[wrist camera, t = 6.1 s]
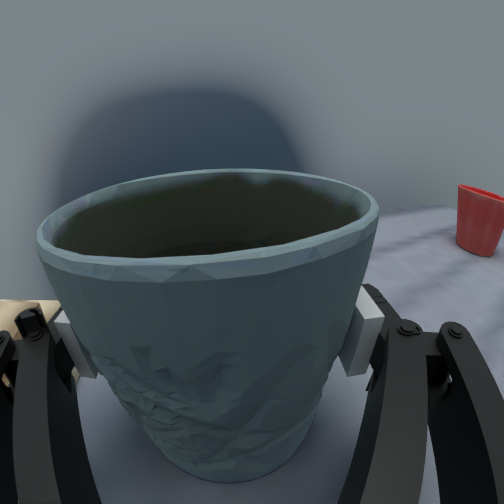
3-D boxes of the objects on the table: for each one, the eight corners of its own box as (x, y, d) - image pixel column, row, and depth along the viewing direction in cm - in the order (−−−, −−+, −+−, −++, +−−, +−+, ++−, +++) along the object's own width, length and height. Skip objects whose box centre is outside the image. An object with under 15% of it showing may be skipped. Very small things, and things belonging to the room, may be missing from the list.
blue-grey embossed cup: (318, 363, 17) (343, 172, 12) (320, 508, 8) (469, 271, 3) (171, 349, 18) (142, 172, 13) (110, 469, 9) (-27, 243, 4)
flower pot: (503, 252, 33) (514, 200, 29) (493, 267, 28) (508, 203, 24) (459, 233, 41) (467, 184, 37) (440, 243, 37) (450, 184, 33)
